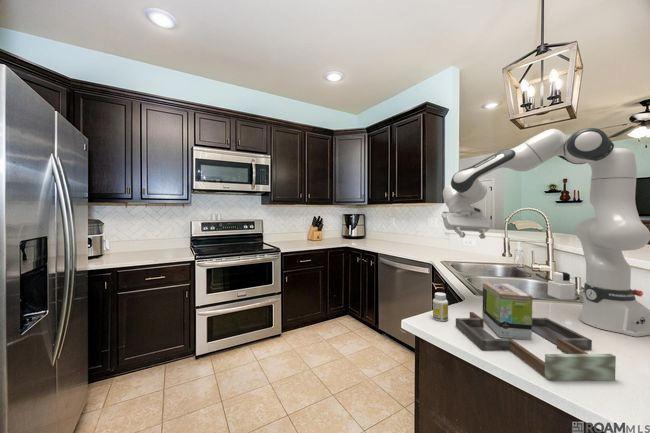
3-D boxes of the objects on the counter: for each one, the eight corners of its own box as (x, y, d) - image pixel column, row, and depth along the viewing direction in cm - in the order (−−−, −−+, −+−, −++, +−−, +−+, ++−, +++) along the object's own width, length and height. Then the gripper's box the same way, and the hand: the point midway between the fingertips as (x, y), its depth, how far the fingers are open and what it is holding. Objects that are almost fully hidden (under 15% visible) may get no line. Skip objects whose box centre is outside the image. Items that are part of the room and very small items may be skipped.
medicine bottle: (561, 294, 130) (561, 270, 130) (575, 299, 123) (575, 274, 123) (547, 295, 130) (547, 270, 129) (560, 300, 123) (561, 274, 122)
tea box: (533, 340, 85) (533, 295, 85) (498, 338, 87) (499, 293, 87) (510, 321, 100) (510, 282, 100) (481, 319, 102) (481, 281, 102)
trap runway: (533, 319, 101) (533, 303, 101) (648, 380, 65) (649, 356, 65) (448, 319, 102) (448, 304, 101) (515, 380, 65) (515, 356, 65)
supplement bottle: (446, 316, 105) (446, 292, 104) (449, 322, 99) (449, 296, 99) (432, 315, 106) (432, 291, 106) (433, 320, 101) (433, 295, 101)
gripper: (443, 206, 118) (454, 231, 109) (485, 210, 120) (499, 234, 111) (437, 215, 123) (447, 240, 114) (477, 218, 125) (490, 242, 116)
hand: (473, 237), depth 113 cm, fingers open, 8 cm apart
